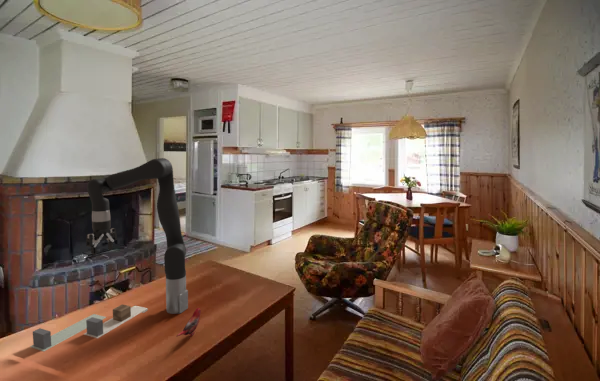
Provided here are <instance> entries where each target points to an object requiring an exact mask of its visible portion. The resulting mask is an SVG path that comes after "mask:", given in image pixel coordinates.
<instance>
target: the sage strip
mask: <svg viewBox="0 0 600 381" xmlns="http://www.w3.org/2000/svg"><path fill="white" fill-rule="evenodd" d="M92 317H93V318H97V319H101V320H103V321H104V319H106V318H107V316H104V315H99V314H96V313H92V314H91V315H89V316H87V317H85V318H82V319H81V320H79V321H77V322H75V323H73V324H71V325H69V326H67V327H66V328H64V329H62V330H59V331H58V332H56V333H53V334H52V333H51V331H50V330H47V329H44V328H41V327H40V328H38V329H35V330H33V331H32V342H33V343H32V344H33V345H30V346H29V347H30V348H31V349H35V350H38V351H41V352H46V351H48V350H49V349H51V348H54V347H55V346H56V345H58V344H60V343H62V342H64V341H66V340H68V339H69V338H71V337H73V336H75V335H77V334H79V333H81V332H83V331H85V330H87V324H86V320H88V319H90V318H92Z"/></svg>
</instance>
